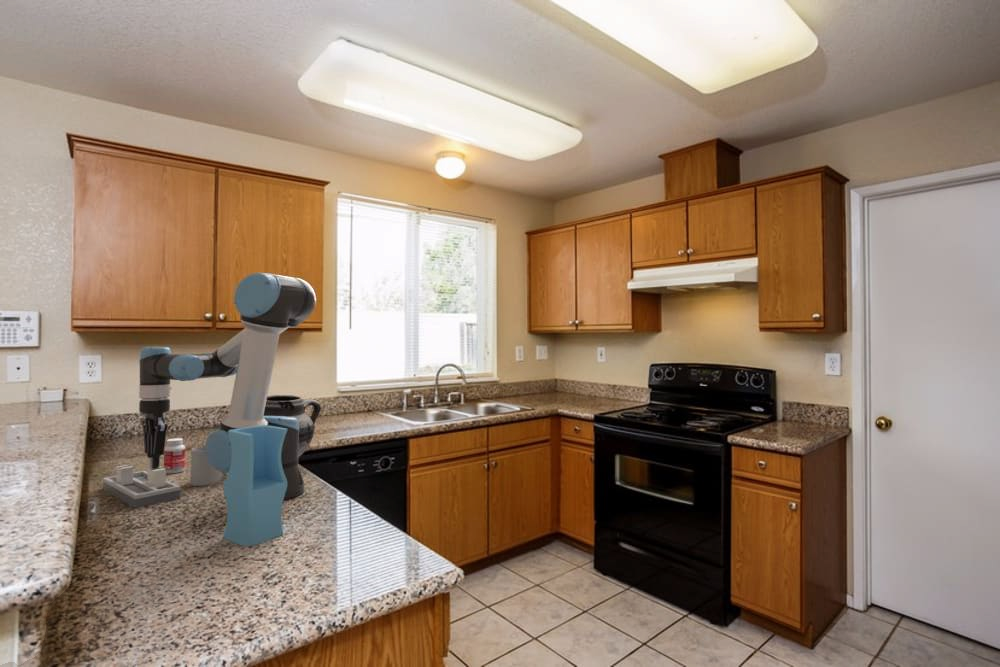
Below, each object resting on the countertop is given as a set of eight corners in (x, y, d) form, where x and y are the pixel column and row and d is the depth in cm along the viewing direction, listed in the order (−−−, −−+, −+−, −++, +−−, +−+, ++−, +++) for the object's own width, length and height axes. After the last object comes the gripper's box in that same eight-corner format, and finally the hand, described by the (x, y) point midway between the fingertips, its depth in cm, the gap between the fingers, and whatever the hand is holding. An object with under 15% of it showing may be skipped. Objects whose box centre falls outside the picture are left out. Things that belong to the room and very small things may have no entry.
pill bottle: (172, 474, 170) (173, 441, 170) (159, 473, 172) (159, 440, 172) (189, 470, 176) (189, 438, 176) (175, 468, 178) (176, 437, 178)
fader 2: (165, 486, 149) (166, 468, 149) (153, 488, 146) (154, 470, 146) (160, 483, 151) (160, 466, 151) (148, 486, 149) (149, 468, 149)
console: (180, 498, 146) (180, 486, 146) (135, 508, 137) (135, 495, 137) (144, 481, 162) (145, 470, 163) (102, 489, 154) (102, 478, 154)
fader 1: (133, 483, 151) (133, 466, 151) (120, 485, 149) (121, 468, 149) (128, 481, 153) (128, 464, 153) (116, 483, 151) (116, 465, 151)
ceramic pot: (309, 454, 202) (310, 391, 202) (330, 466, 184) (331, 397, 184) (229, 465, 184) (230, 396, 184) (244, 479, 166) (245, 402, 166)
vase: (247, 547, 113) (248, 435, 113) (222, 537, 118) (224, 430, 118) (286, 533, 121) (287, 428, 121) (261, 524, 126) (263, 424, 127)
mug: (219, 484, 160) (219, 449, 160) (187, 487, 157) (188, 451, 157) (224, 474, 171) (224, 442, 171) (194, 477, 168) (195, 444, 168)
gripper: (178, 399, 150) (176, 479, 150) (160, 395, 158) (159, 472, 157) (148, 401, 144) (147, 485, 144) (132, 398, 152) (130, 477, 151)
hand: (153, 478), depth 151 cm, fingers closed
